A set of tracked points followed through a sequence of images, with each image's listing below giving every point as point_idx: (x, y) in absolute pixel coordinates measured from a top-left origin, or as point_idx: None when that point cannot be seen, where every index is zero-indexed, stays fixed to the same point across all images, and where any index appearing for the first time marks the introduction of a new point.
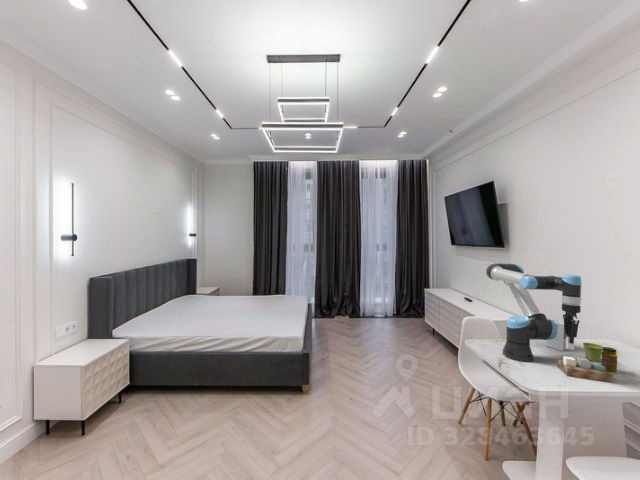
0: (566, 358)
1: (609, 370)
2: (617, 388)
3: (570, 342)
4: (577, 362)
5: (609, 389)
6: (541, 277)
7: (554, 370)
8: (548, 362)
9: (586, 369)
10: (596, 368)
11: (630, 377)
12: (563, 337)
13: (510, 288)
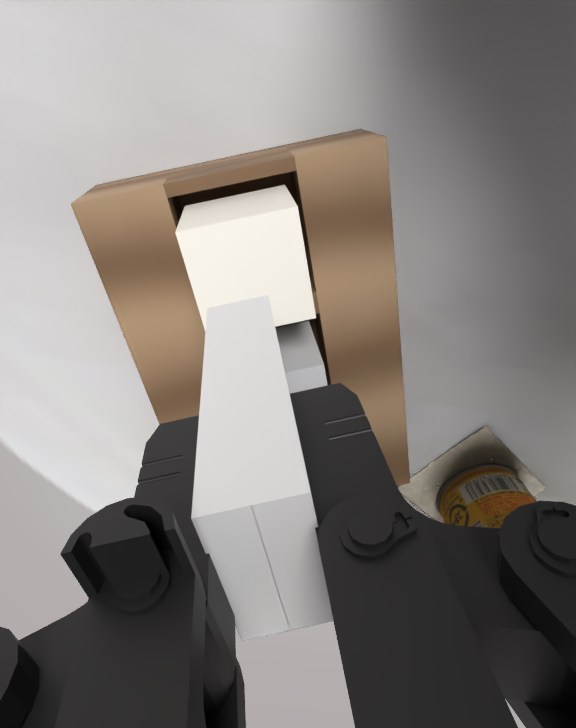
0: (192, 234)
1: (444, 502)
2: (103, 488)
3: (150, 444)
4: (301, 341)
5: (28, 446)
6: None
7: (192, 67)
8: (469, 38)
9: (193, 384)
10: None
11: None
12: None
13: None
